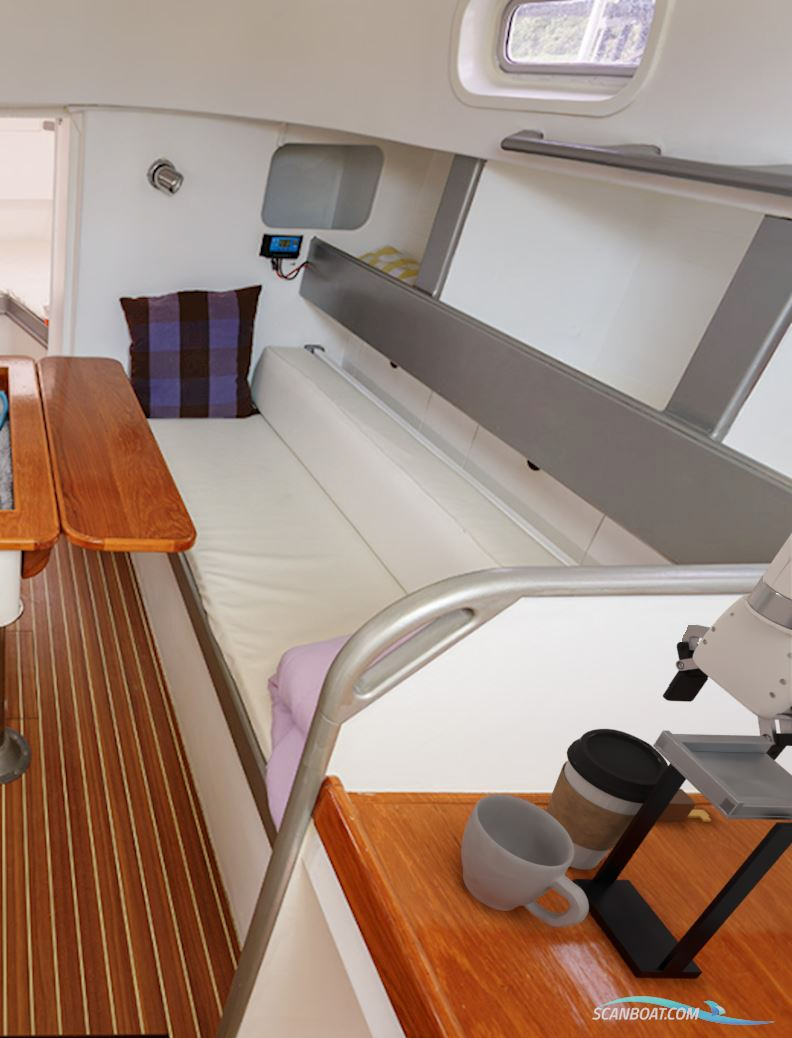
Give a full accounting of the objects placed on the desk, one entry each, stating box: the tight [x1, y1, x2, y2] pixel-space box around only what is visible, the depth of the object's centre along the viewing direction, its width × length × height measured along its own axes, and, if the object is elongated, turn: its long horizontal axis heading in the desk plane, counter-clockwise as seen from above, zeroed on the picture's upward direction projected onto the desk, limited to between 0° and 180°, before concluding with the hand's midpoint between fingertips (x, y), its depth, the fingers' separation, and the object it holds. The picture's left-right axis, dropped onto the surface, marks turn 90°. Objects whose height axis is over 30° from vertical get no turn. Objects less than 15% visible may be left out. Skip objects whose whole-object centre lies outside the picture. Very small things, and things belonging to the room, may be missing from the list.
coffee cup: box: [545, 728, 669, 871], centre depth 80 cm, size 8×8×15 cm
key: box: [657, 788, 712, 823], centre depth 87 cm, size 8×2×3 cm, turn 90°
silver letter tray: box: [652, 729, 792, 821], centre depth 64 cm, size 10×8×2 cm
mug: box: [460, 793, 589, 928], centre depth 75 cm, size 12×9×10 cm
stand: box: [571, 762, 792, 980], centre depth 69 cm, size 6×10×22 cm, turn 0°
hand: (710, 730), depth 81 cm, fingers open, 9 cm apart
